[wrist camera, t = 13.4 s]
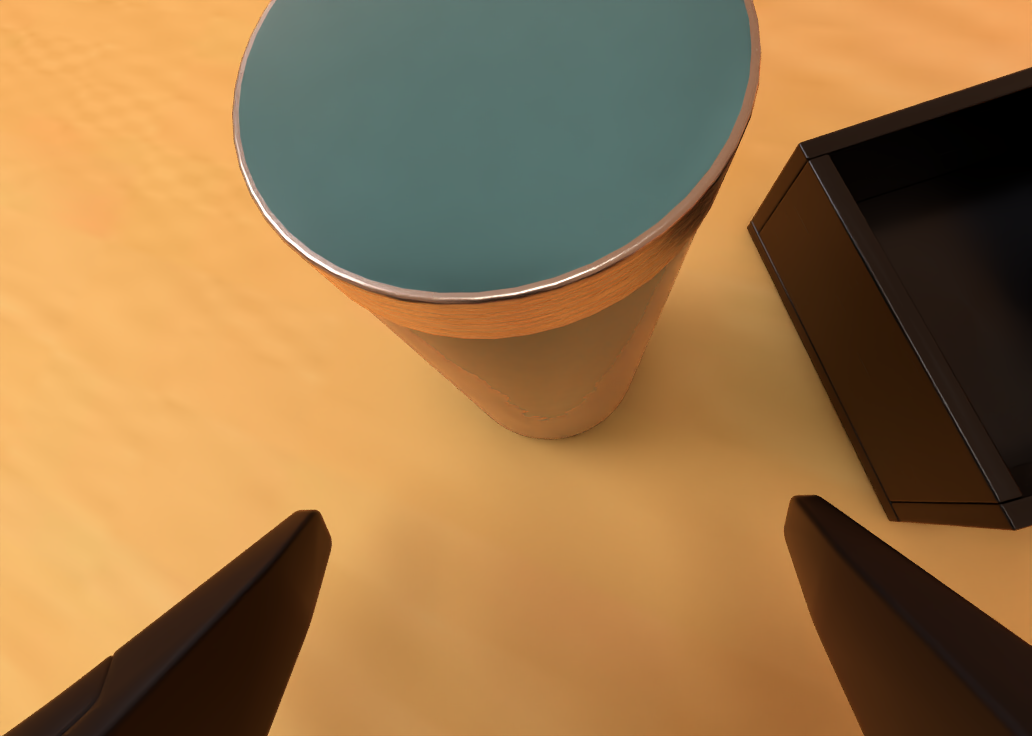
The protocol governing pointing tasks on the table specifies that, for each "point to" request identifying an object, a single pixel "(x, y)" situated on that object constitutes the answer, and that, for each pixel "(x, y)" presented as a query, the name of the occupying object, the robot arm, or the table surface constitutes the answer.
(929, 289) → the tray
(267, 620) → the robot arm
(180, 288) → the table surface
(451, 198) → the tin
